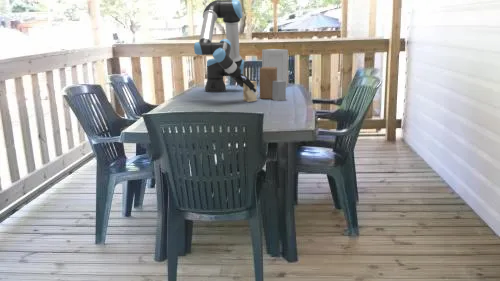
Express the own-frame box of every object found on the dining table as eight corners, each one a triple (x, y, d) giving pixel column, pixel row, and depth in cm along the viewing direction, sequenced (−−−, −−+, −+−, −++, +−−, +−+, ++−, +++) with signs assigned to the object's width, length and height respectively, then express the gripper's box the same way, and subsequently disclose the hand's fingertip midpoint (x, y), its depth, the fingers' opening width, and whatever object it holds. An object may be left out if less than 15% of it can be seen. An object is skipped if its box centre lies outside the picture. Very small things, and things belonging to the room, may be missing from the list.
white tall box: (283, 84, 363) (284, 48, 356) (287, 87, 349) (288, 49, 342) (259, 85, 361) (260, 49, 354) (262, 87, 346) (263, 50, 339)
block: (274, 99, 293) (275, 68, 288) (259, 98, 295) (259, 67, 290) (276, 97, 303) (277, 66, 298) (262, 96, 305) (262, 66, 300)
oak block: (243, 100, 290) (243, 81, 287) (251, 99, 293) (251, 80, 290) (248, 101, 285) (248, 82, 282) (256, 100, 288) (256, 81, 285)
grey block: (272, 99, 293) (272, 81, 290) (279, 98, 296) (280, 80, 293) (278, 101, 288) (278, 81, 285) (285, 100, 291) (285, 81, 288)
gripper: (220, 72, 284) (242, 96, 297) (237, 75, 268) (259, 100, 281) (228, 63, 285) (249, 87, 298) (244, 66, 270) (266, 91, 283)
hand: (254, 93), depth 290 cm, fingers closed on oak block, 6 cm apart
